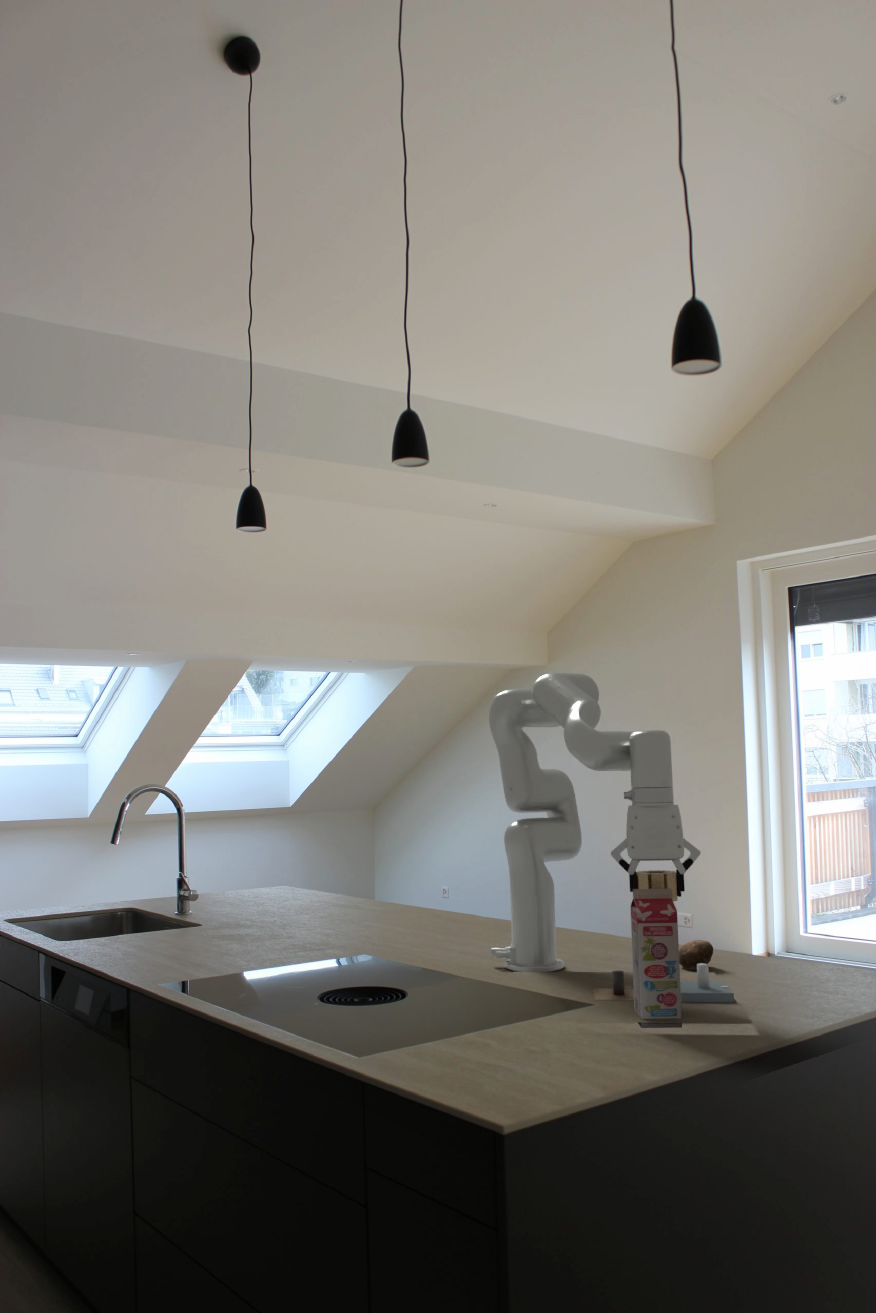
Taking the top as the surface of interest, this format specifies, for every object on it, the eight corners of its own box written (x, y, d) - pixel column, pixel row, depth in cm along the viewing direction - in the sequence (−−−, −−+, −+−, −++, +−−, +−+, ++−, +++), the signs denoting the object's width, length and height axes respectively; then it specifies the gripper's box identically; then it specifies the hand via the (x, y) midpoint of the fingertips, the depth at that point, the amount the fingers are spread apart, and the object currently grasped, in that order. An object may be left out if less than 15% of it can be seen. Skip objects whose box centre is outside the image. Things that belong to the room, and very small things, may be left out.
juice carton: (634, 1017, 173) (629, 886, 175) (674, 1017, 172) (668, 886, 175) (641, 1027, 166) (636, 891, 168) (682, 1027, 166) (676, 890, 168)
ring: (638, 902, 181) (637, 874, 182) (636, 897, 188) (635, 870, 189) (678, 902, 180) (677, 873, 181) (675, 897, 187) (673, 869, 188)
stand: (595, 1008, 180) (594, 976, 180) (593, 996, 189) (592, 966, 189) (646, 1008, 179) (645, 976, 179) (642, 997, 188) (641, 966, 188)
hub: (681, 1010, 177) (680, 969, 178) (675, 998, 186) (674, 959, 187) (734, 1010, 176) (732, 969, 177) (725, 998, 185) (724, 959, 186)
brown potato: (718, 948, 217) (703, 926, 216) (725, 970, 210) (709, 947, 208) (685, 965, 219) (670, 943, 218) (691, 987, 211) (675, 964, 210)
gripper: (605, 799, 184) (609, 898, 182) (703, 797, 181) (708, 898, 179) (604, 798, 191) (608, 893, 189) (698, 796, 189) (703, 893, 187)
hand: (657, 895), depth 184 cm, fingers closed on ring, 7 cm apart
